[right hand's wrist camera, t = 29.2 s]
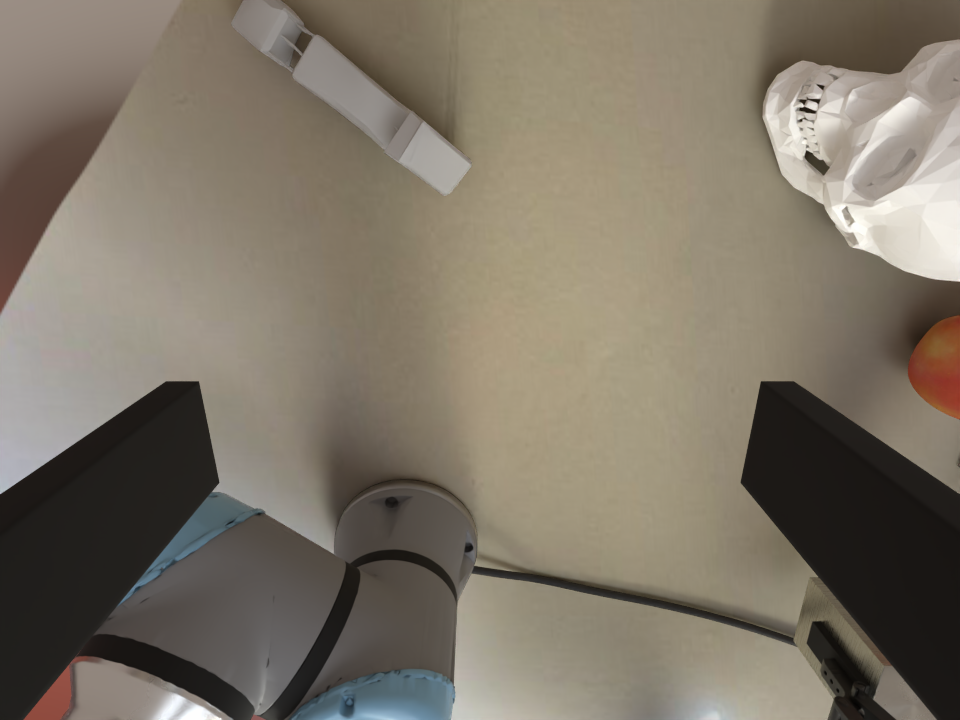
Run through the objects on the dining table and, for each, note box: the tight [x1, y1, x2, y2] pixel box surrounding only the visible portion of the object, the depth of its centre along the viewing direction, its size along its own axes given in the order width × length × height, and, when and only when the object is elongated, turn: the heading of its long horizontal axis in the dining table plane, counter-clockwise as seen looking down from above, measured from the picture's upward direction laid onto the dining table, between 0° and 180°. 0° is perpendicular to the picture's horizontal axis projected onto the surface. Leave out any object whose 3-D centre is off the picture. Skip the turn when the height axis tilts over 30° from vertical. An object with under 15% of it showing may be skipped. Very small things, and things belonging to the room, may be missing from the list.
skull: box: [763, 39, 960, 281], centre depth 36 cm, size 13×22×16 cm, turn 64°
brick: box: [793, 577, 937, 720], centre depth 47 cm, size 8×7×10 cm
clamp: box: [231, 0, 472, 196], centre depth 39 cm, size 20×4×7 cm, turn 52°
